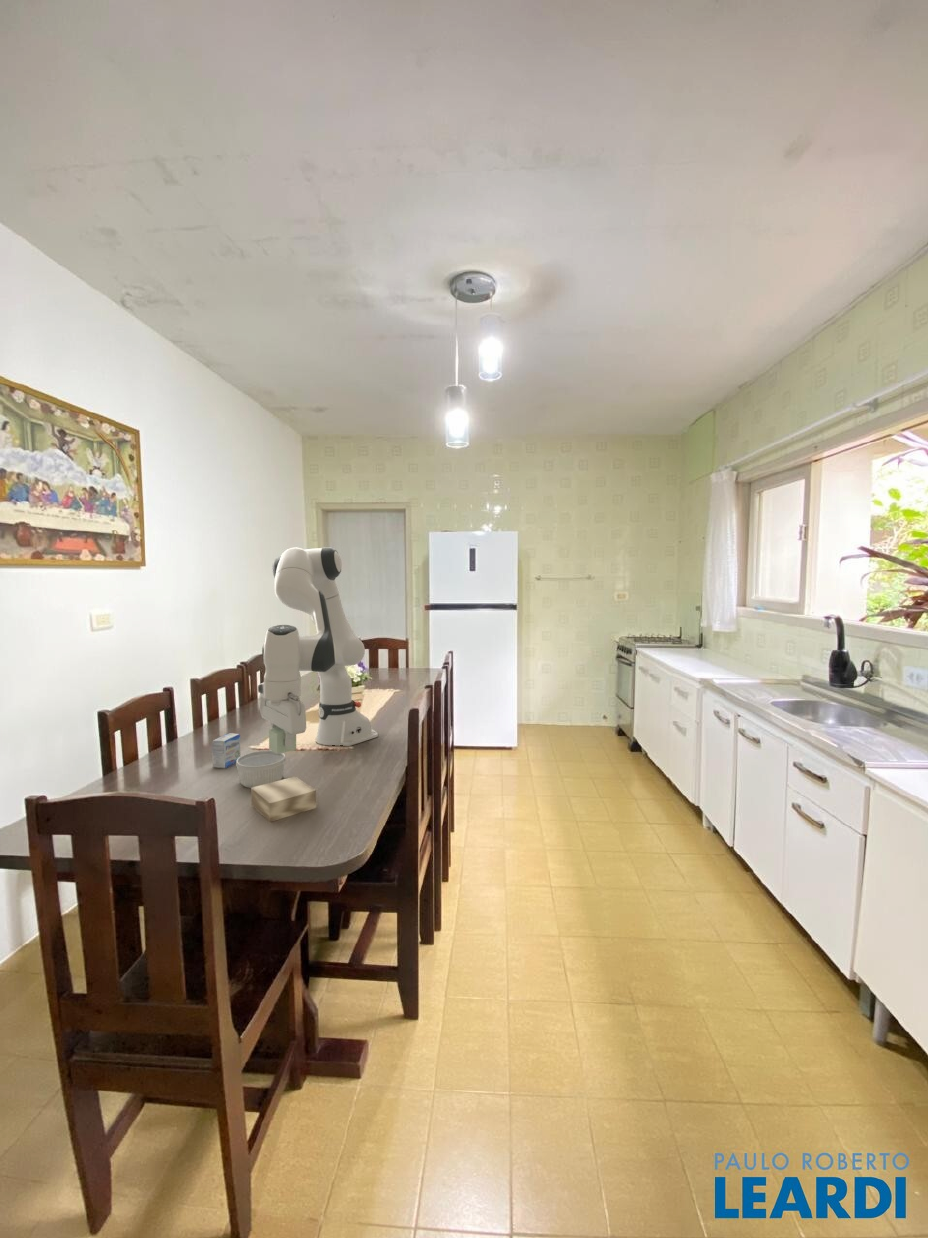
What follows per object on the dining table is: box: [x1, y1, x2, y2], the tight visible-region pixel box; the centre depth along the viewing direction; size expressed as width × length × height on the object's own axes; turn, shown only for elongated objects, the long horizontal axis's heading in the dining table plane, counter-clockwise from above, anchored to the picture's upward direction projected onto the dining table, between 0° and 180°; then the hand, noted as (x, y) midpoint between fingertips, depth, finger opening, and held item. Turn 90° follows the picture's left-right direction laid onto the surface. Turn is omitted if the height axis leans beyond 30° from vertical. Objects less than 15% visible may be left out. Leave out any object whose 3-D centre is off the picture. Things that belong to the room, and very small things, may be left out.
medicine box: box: [211, 732, 241, 769], centre depth 162 cm, size 8×4×9 cm, turn 168°
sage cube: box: [268, 728, 297, 754], centre depth 132 cm, size 5×5×5 cm
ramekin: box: [235, 749, 286, 789], centre depth 149 cm, size 13×13×7 cm
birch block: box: [250, 775, 317, 823], centre depth 133 cm, size 12×12×5 cm
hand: (282, 742), depth 132 cm, fingers closed on sage cube, 5 cm apart
